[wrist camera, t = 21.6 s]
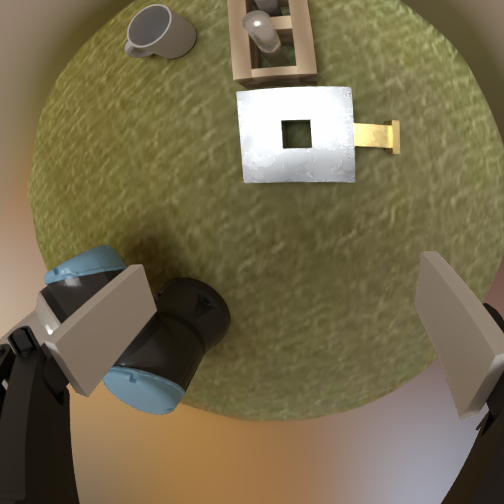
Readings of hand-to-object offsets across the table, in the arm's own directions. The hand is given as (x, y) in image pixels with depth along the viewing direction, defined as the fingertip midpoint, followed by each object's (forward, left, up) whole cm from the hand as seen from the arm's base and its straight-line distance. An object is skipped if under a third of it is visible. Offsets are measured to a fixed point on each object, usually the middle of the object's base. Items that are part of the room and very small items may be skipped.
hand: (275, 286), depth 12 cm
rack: (-2, +22, -30) cm, 37 cm away
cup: (-19, +25, -30) cm, 44 cm away
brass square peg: (+8, +7, -30) cm, 32 cm away
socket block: (0, +7, -30) cm, 31 cm away
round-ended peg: (-2, +18, -30) cm, 35 cm away
